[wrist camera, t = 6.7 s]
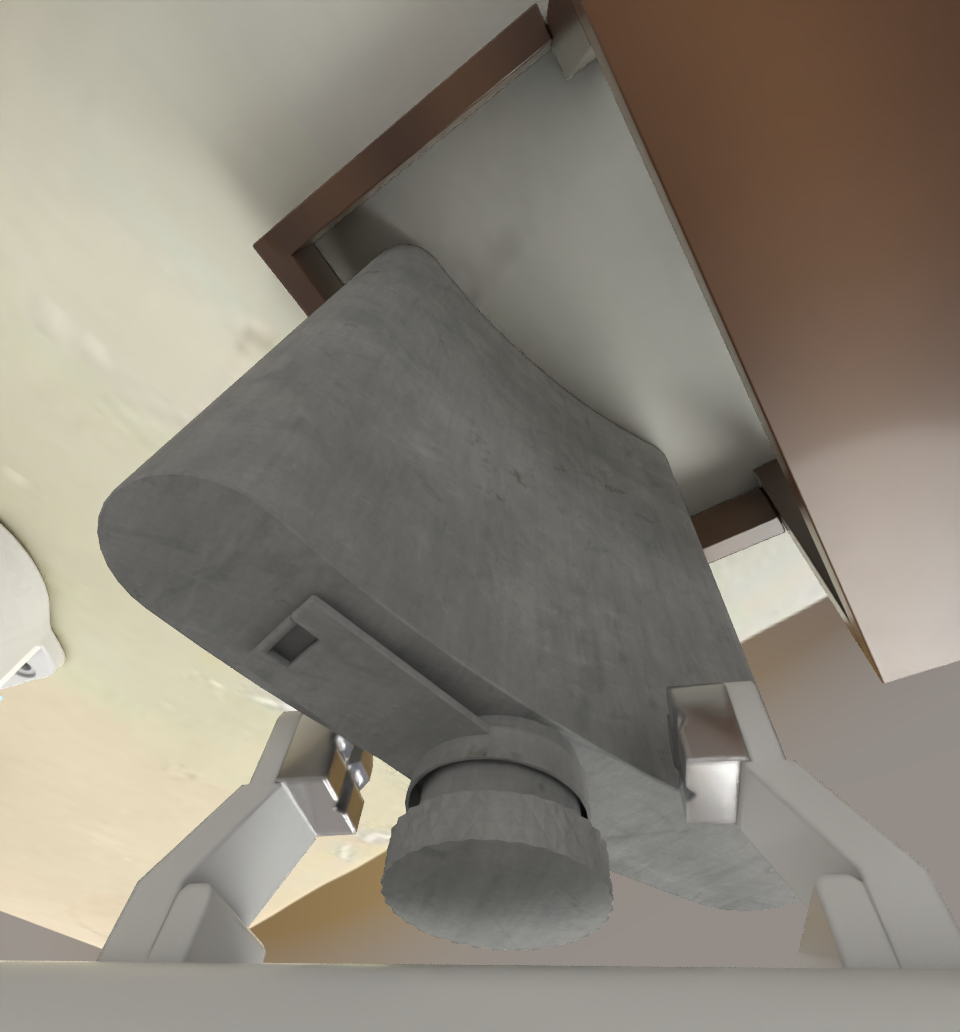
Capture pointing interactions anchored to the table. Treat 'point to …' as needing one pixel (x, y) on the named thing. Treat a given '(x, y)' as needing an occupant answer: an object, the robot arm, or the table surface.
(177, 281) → the table surface
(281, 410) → the hip flask
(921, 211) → the shelf stand
